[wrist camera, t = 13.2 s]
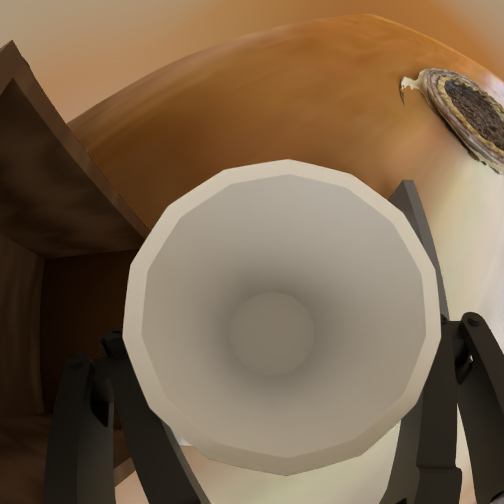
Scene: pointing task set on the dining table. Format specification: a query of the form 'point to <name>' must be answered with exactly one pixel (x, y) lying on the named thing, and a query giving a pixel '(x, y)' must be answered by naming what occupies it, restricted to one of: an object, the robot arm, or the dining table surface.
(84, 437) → the robot arm
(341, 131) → the dining table surface
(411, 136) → the dining table surface
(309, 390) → the foam cup
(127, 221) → the cabinet
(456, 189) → the dining table surface
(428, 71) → the pie
